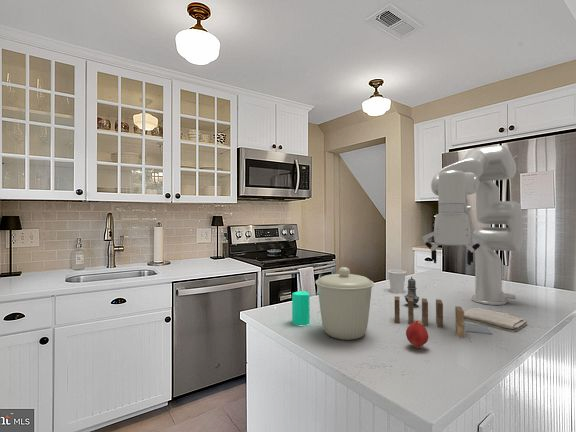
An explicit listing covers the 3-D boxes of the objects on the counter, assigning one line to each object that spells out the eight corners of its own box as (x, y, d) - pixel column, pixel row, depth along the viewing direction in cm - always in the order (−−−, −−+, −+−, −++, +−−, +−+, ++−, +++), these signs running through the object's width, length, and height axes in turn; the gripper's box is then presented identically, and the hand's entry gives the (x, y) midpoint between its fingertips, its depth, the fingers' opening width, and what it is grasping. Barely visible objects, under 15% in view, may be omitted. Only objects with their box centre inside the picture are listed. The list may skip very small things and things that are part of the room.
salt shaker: (421, 308, 125) (420, 278, 125) (405, 307, 126) (405, 277, 126) (418, 304, 131) (417, 275, 131) (403, 303, 132) (403, 275, 132)
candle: (297, 327, 105) (297, 291, 105) (289, 322, 110) (289, 287, 110) (312, 324, 108) (312, 289, 108) (304, 319, 113) (303, 286, 113)
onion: (402, 344, 91) (402, 316, 91) (421, 343, 91) (421, 315, 91) (412, 352, 85) (411, 323, 85) (432, 351, 85) (432, 322, 85)
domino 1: (399, 318, 113) (399, 296, 113) (399, 323, 108) (399, 300, 108) (394, 318, 113) (394, 296, 113) (394, 322, 109) (394, 299, 109)
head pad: (485, 325, 105) (485, 324, 105) (492, 334, 97) (492, 333, 97) (462, 323, 107) (462, 322, 107) (466, 331, 100) (466, 330, 100)
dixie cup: (393, 288, 158) (393, 269, 158) (409, 291, 152) (409, 271, 152) (384, 291, 152) (384, 271, 152) (400, 294, 146) (400, 273, 146)
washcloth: (516, 335, 98) (516, 325, 98) (456, 320, 112) (456, 311, 112) (528, 326, 105) (528, 317, 105) (471, 313, 120) (471, 305, 120)
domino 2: (413, 320, 111) (412, 297, 111) (413, 324, 107) (413, 301, 106) (408, 319, 112) (408, 297, 112) (408, 324, 107) (408, 300, 107)
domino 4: (441, 322, 108) (441, 299, 108) (443, 327, 103) (442, 303, 103) (436, 322, 109) (435, 299, 109) (437, 327, 104) (437, 303, 104)
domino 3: (426, 321, 110) (426, 298, 110) (428, 326, 105) (427, 302, 105) (421, 321, 110) (421, 298, 110) (422, 325, 106) (422, 302, 106)
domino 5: (461, 331, 100) (461, 306, 100) (464, 337, 95) (463, 311, 95) (455, 331, 100) (455, 306, 100) (458, 336, 96) (458, 310, 96)
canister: (308, 340, 94) (307, 270, 94) (324, 321, 111) (323, 261, 111) (370, 349, 87) (369, 274, 87) (377, 327, 104) (376, 264, 104)
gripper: (481, 209, 100) (481, 263, 100) (422, 210, 107) (422, 260, 107) (485, 209, 93) (485, 267, 93) (421, 209, 100) (422, 263, 100)
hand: (451, 263), depth 100 cm, fingers open, 9 cm apart
